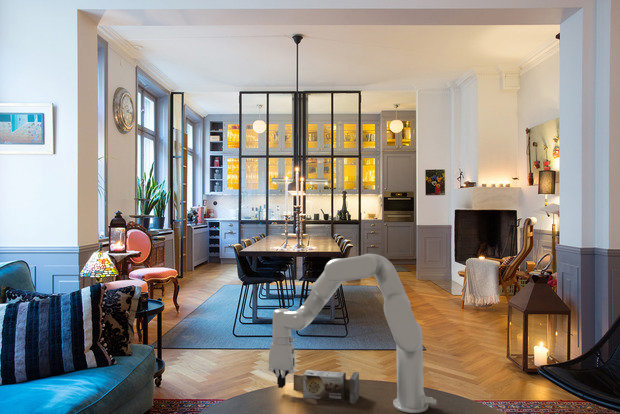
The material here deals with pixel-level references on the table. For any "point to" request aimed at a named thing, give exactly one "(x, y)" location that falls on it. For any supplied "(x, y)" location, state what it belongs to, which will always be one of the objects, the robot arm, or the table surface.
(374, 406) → the table surface
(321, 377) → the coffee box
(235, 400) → the table surface
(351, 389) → the book slot
